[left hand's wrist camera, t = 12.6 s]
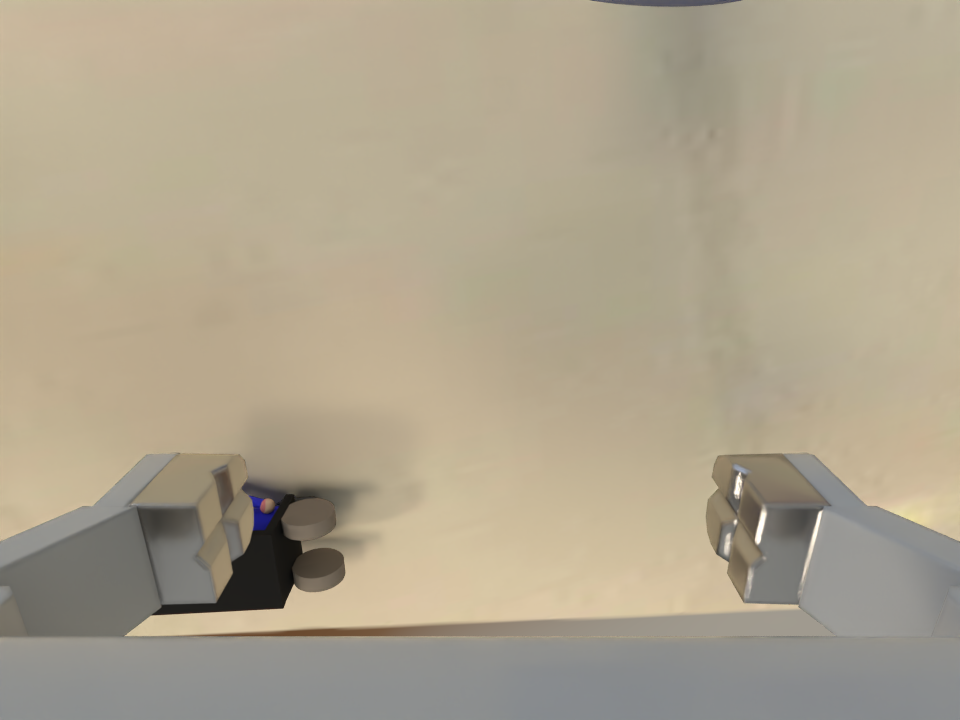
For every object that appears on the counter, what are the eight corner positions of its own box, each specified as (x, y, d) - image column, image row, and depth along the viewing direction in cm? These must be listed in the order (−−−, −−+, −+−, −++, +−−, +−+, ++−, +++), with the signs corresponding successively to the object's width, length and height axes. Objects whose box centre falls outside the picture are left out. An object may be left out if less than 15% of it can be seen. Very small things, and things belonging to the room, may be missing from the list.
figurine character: (341, 463, 45) (136, 482, 44) (329, 525, 38) (84, 550, 37) (352, 535, 47) (158, 556, 46) (342, 605, 40) (113, 632, 39)
